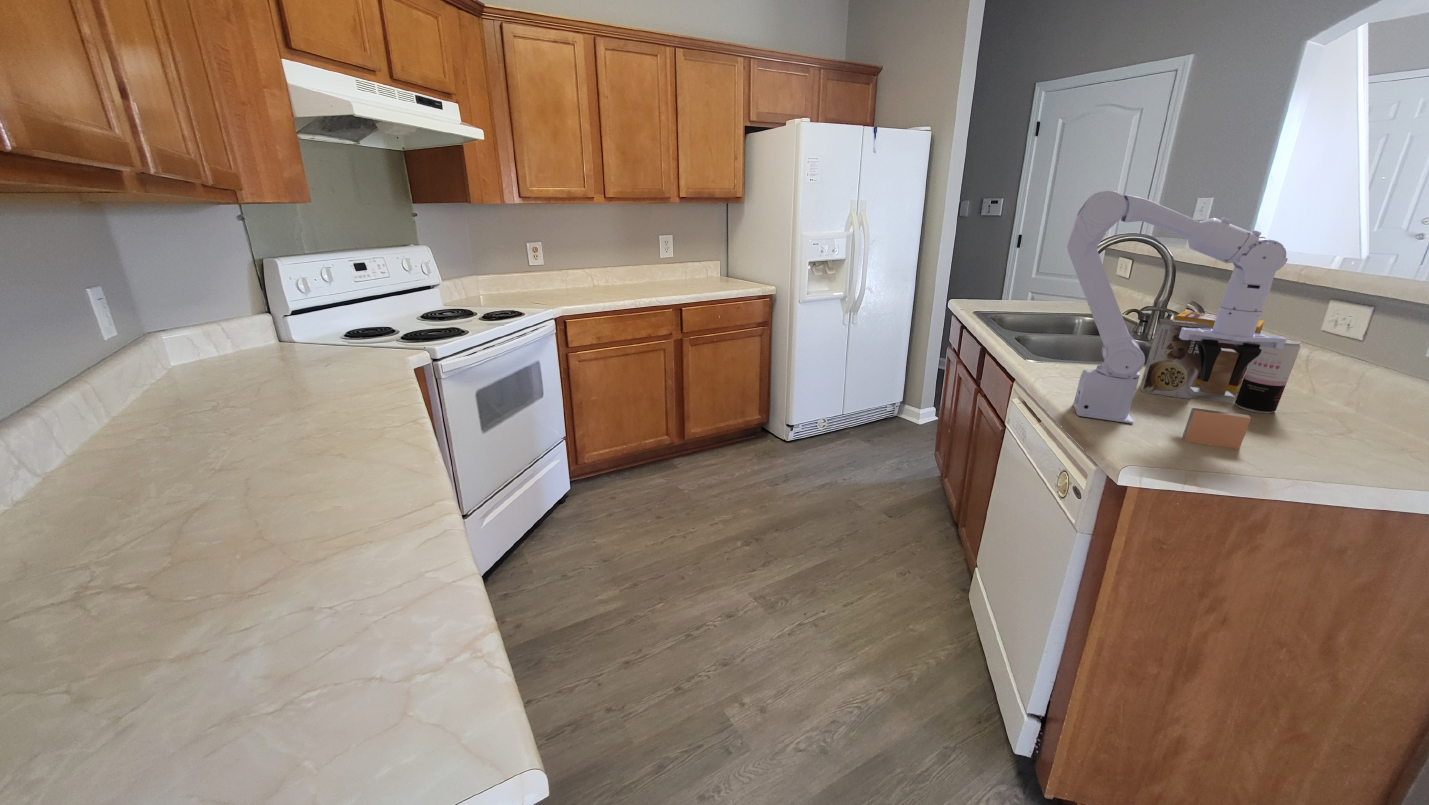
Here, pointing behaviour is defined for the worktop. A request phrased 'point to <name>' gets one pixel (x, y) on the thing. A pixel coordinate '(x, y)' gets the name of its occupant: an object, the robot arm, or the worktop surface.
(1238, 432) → the tile
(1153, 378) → the coffee box
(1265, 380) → the beverage can
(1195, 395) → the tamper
